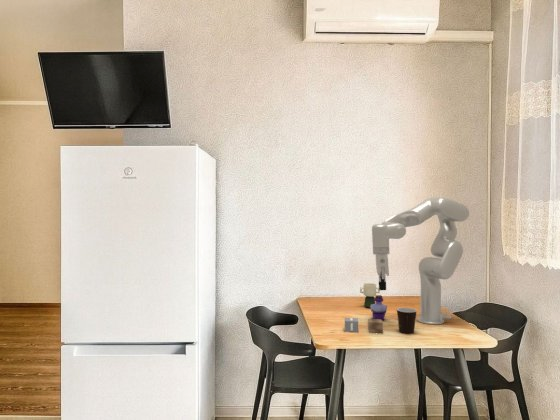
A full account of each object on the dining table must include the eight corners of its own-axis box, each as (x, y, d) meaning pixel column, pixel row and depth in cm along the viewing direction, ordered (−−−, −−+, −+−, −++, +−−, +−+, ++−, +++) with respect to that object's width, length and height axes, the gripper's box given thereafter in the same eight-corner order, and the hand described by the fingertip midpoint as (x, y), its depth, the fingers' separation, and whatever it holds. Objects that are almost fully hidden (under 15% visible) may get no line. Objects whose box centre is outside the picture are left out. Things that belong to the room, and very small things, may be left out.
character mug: (378, 306, 253) (378, 283, 253) (380, 309, 246) (380, 285, 246) (359, 305, 254) (359, 282, 253) (360, 308, 247) (361, 285, 246)
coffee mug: (401, 328, 208) (401, 306, 208) (419, 331, 202) (419, 309, 202) (390, 333, 199) (390, 311, 199) (408, 337, 193) (409, 314, 193)
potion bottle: (390, 319, 224) (391, 295, 223) (381, 322, 218) (381, 298, 217) (376, 316, 230) (376, 293, 230) (366, 319, 224) (366, 295, 224)
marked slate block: (357, 328, 207) (357, 317, 207) (358, 332, 201) (358, 321, 201) (344, 328, 208) (344, 317, 207) (344, 332, 201) (345, 320, 201)
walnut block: (381, 330, 205) (381, 319, 205) (382, 334, 199) (382, 322, 199) (368, 329, 206) (368, 318, 206) (369, 333, 200) (369, 322, 200)
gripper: (391, 252, 199) (392, 293, 200) (387, 248, 214) (389, 286, 215) (374, 253, 200) (375, 293, 201) (371, 248, 215) (373, 286, 216)
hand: (382, 289), depth 208 cm, fingers closed
